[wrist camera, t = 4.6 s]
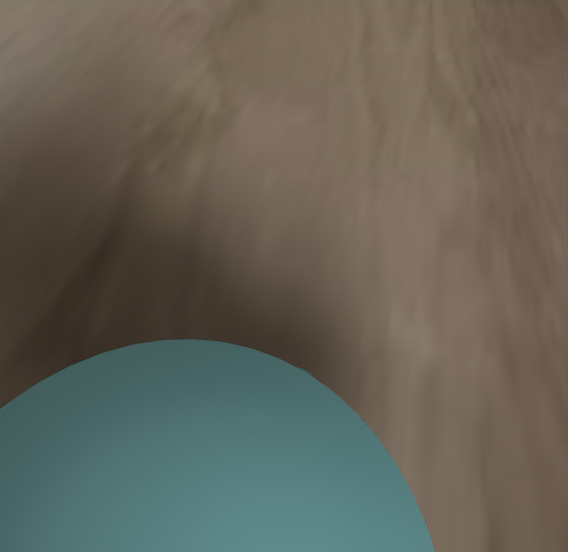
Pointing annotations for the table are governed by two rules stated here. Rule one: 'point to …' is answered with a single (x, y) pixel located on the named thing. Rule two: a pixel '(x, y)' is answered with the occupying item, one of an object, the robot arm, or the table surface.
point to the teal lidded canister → (196, 459)
